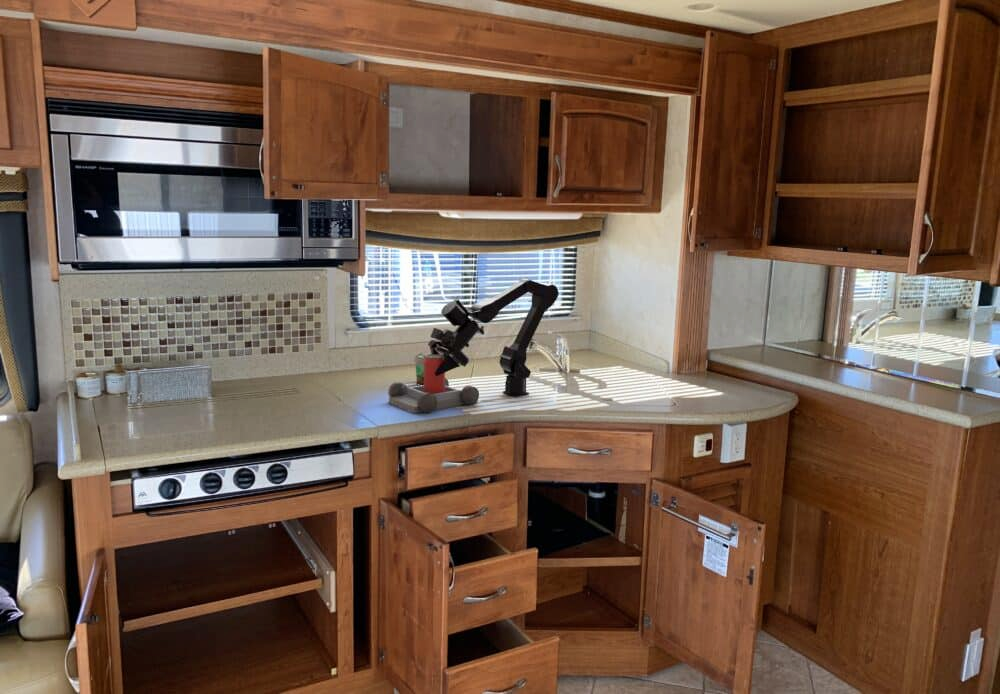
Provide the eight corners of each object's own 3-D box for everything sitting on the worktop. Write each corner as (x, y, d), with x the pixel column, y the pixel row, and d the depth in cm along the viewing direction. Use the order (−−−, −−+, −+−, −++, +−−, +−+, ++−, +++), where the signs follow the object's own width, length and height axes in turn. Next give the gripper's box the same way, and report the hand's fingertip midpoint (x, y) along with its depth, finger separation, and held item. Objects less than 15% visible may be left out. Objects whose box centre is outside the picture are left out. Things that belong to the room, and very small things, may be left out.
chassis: (447, 392, 262) (447, 374, 261) (481, 403, 248) (481, 385, 247) (385, 402, 246) (385, 383, 245) (418, 415, 233) (418, 395, 232)
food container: (406, 381, 275) (406, 353, 273) (420, 379, 279) (421, 352, 277) (426, 388, 266) (426, 359, 264) (441, 386, 269) (441, 358, 268)
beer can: (419, 394, 245) (420, 356, 243) (430, 389, 251) (430, 353, 249) (438, 396, 243) (438, 358, 240) (448, 392, 248) (448, 355, 246)
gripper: (433, 314, 252) (401, 351, 249) (460, 323, 236) (426, 362, 233) (455, 337, 258) (424, 373, 254) (482, 347, 242) (450, 385, 238)
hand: (430, 372), depth 245 cm, fingers closed on beer can, 6 cm apart
